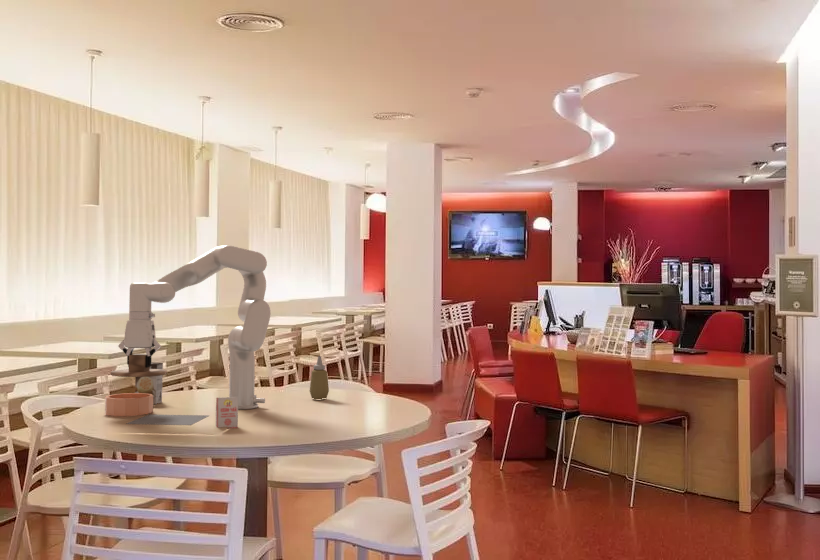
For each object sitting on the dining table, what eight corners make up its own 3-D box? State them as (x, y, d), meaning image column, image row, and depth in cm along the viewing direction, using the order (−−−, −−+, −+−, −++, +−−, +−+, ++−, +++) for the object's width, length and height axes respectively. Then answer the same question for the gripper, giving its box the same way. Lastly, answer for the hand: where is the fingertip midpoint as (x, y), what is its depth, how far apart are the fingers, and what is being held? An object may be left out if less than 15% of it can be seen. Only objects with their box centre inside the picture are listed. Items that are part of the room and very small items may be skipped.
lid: (174, 371, 286) (174, 352, 286) (156, 377, 267) (156, 357, 267) (123, 371, 286) (123, 352, 286) (101, 376, 267) (102, 356, 267)
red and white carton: (215, 427, 255) (215, 396, 255) (236, 426, 257) (236, 396, 257) (216, 429, 251) (217, 398, 251) (237, 428, 253) (238, 397, 253)
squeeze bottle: (307, 398, 324) (307, 356, 324) (325, 398, 327) (326, 355, 327) (312, 401, 317) (312, 357, 317) (331, 400, 320) (331, 357, 320)
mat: (209, 417, 274) (209, 415, 275) (190, 426, 255) (190, 425, 255) (149, 416, 276) (149, 414, 276) (125, 425, 256) (125, 423, 256)
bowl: (159, 410, 288) (159, 393, 288) (142, 417, 272) (142, 399, 272) (117, 410, 288) (117, 392, 289) (97, 417, 273) (98, 398, 273)
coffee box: (133, 403, 306) (134, 363, 306) (141, 401, 312) (141, 361, 312) (156, 404, 305) (156, 363, 305) (162, 402, 311) (163, 362, 311)
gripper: (167, 316, 280) (166, 366, 280) (120, 316, 281) (119, 365, 280) (160, 317, 273) (159, 368, 273) (112, 316, 273) (111, 367, 273)
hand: (139, 366), depth 277 cm, fingers closed on lid, 5 cm apart
